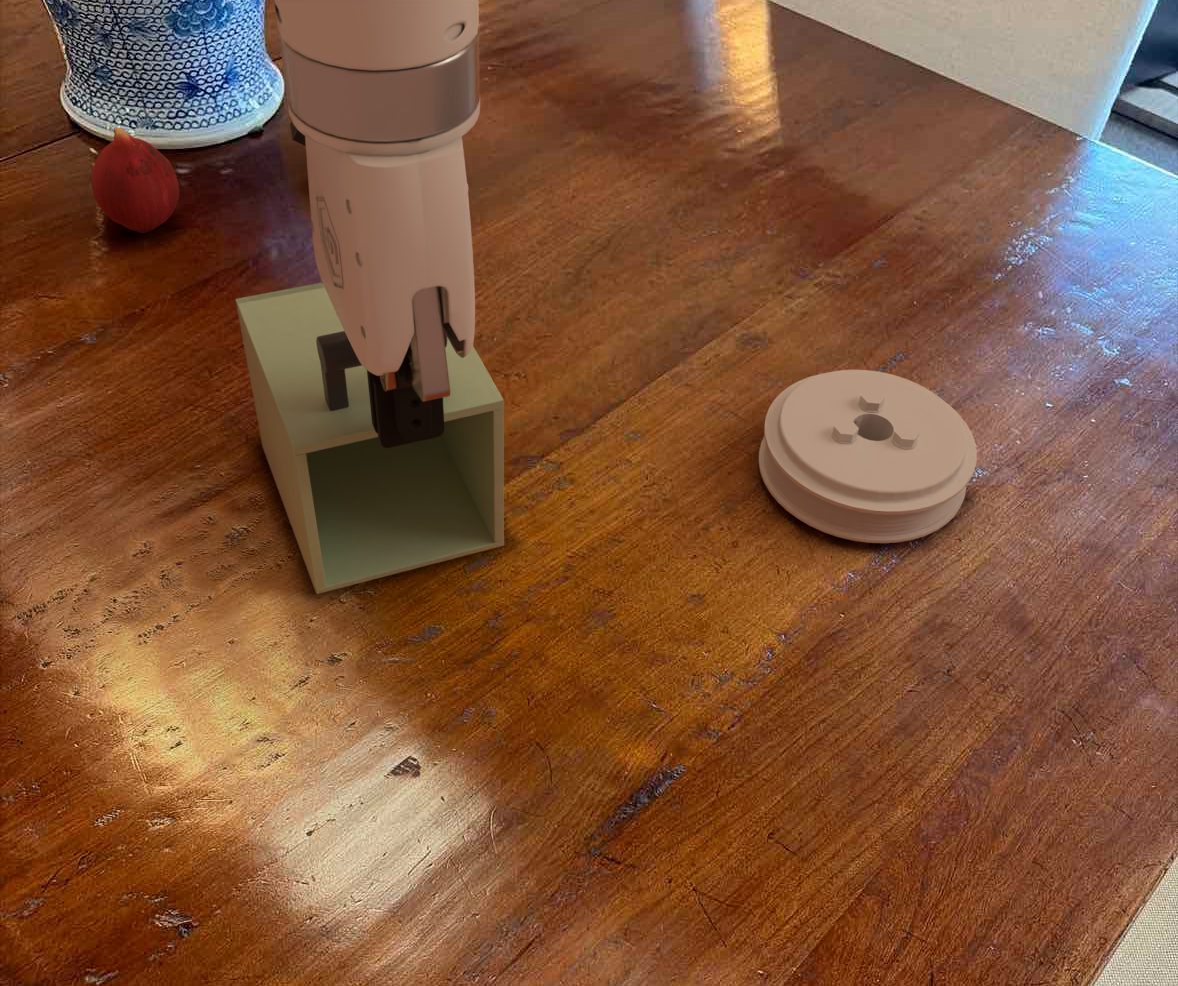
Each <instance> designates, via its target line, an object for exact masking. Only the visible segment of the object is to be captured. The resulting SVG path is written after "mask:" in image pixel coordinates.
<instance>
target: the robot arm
mask: <svg viewBox="0 0 1178 986" xmlns="http://www.w3.org/2000/svg"><path fill="white" fill-rule="evenodd" d="M273 2H274V8H275V16H276V24H277V30H278V38H279V46H280V47H279V48H280V54H281V60H282V61H281V62H282V69H283V76H284V84H285V92H286V98H287V107H288V115H289V118H290V120H291V122H293V124H294V126H295V127H296V128H297V129H298V131H300V132H301V133H302V134H303V135H304V136H305V141H306V146H305V153H306V156H305V157H306V166H307V167H306V168H307V170H306V171H307V182H308V194H309V207H310V208H309V209H310V219H311V220H310V221H311V232H312V233H311V234H312V244H313V245H312V246H313V254H314V259H315V264H316V269H317V271H318V274H319V277H320V279H321V283H323V284H324V287H325V289H326V291H327V294H328V296H329V298H330V300H331V303H332V305H333V307H334V309H335V311H336V314H337V316H338V318H339V320H340V322H341V324H342V327H343V329H344V331H345V333H346V335H347V337H348V339H349V341H350V343H351V346H352V348H353V350H354V352H355V354H356V356H357V358H358V359H359V361H360V363H361V364H362V366H363V367H364V368H366V369H367V377H368V387H369V397H370V407H371V417H372V425H373V427H374V429H375V432H376V433H377V434H378V438H379V440H380V443H381V445H382V446H383V447H384V448H392V447H396V446H401V445H405V444H409V443H414V442H418V441H422V440H427V439H431V438H436V437H439V436H441V435H442V434H443V433H444V407H443V397H448V396H450V384H449V375H448V367H447V358H446V350H445V341H444V332H445V334H446V336H447V337H448V339H449V341H450V343H451V345H452V346H453V348H454V350H455V352H456V354H458V355H459V356H460V357H462V358H464V357H466V355H467V354H468V353H469V352H470V350H471V348H472V346H474V341H475V332H476V331H475V330H476V289H475V288H476V287H475V265H474V251H473V248H474V247H473V236H472V235H473V234H472V224H471V223H472V222H471V211H470V199H469V198H470V197H469V189H470V188H469V184H468V178H467V169H466V159H465V151H464V143H463V142H464V141H463V136H465V135H466V134H467V133H469V132H470V131H471V129H473V127H474V126H476V123H477V121H478V120H479V118H480V115H481V74H480V73H481V72H480V71H481V69H480V67H481V65H480V63H481V62H480V61H481V60H480V9H479V8H480V7H479V6H480V5H479V2H480V1H479V0H273Z"/></svg>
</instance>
